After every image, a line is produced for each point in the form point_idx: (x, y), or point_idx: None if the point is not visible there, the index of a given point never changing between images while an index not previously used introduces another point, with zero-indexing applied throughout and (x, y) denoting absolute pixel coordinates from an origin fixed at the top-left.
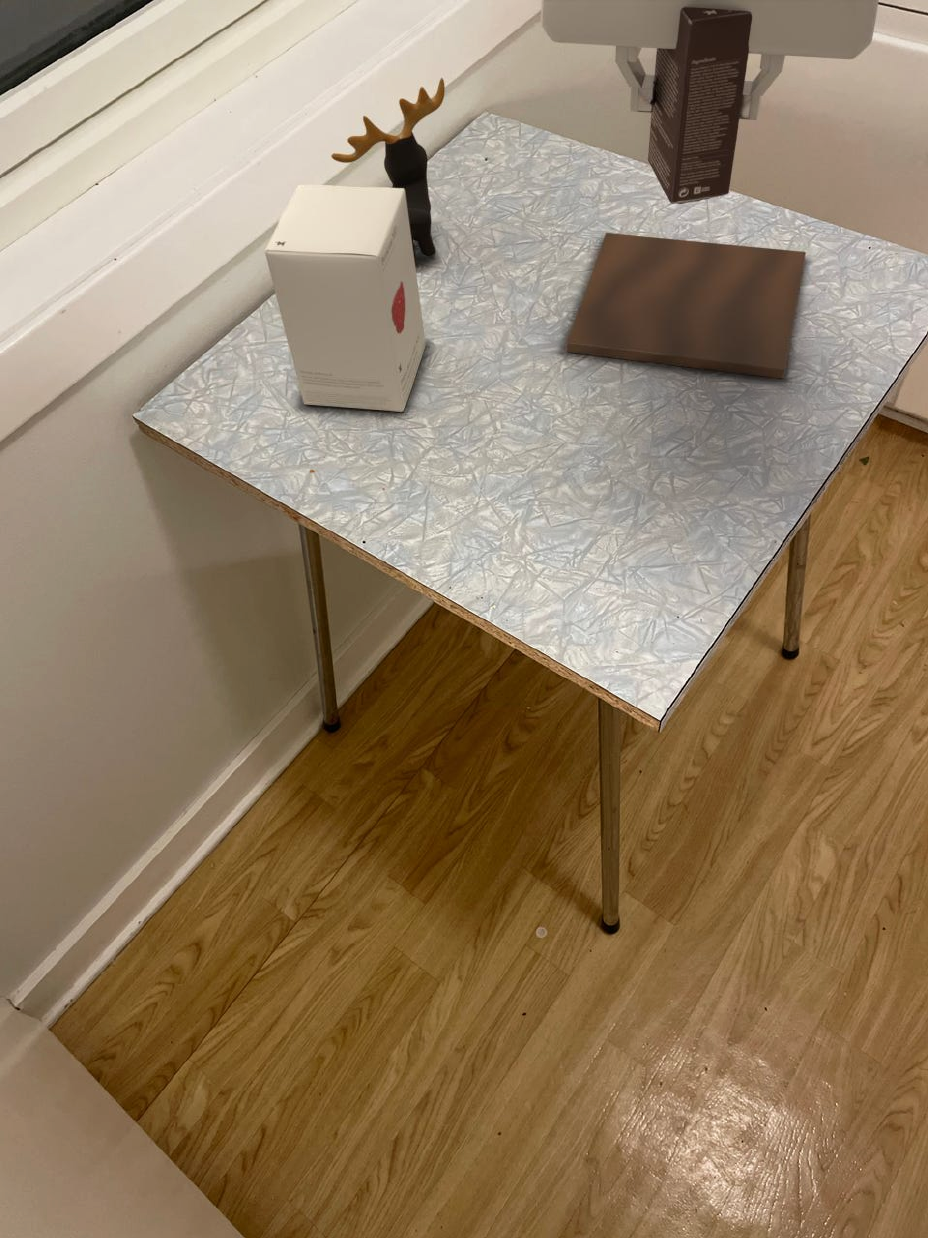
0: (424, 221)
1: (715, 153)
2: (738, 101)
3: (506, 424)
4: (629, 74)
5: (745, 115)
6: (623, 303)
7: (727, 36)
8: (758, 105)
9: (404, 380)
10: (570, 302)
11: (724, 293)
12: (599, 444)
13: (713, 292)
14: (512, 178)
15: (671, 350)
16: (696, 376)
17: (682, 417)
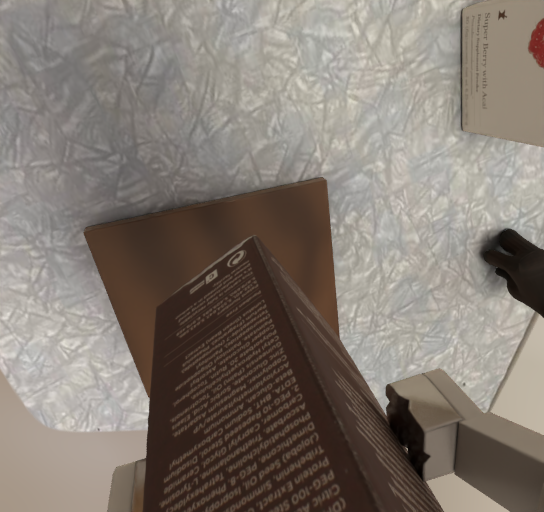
0: (525, 257)
1: (189, 342)
2: (149, 488)
3: (347, 34)
4: (520, 441)
5: (145, 465)
6: (290, 260)
7: None
8: (108, 506)
9: (483, 25)
10: (341, 248)
11: None
12: (234, 38)
13: None
14: None
15: (215, 212)
16: (177, 194)
17: (163, 123)
